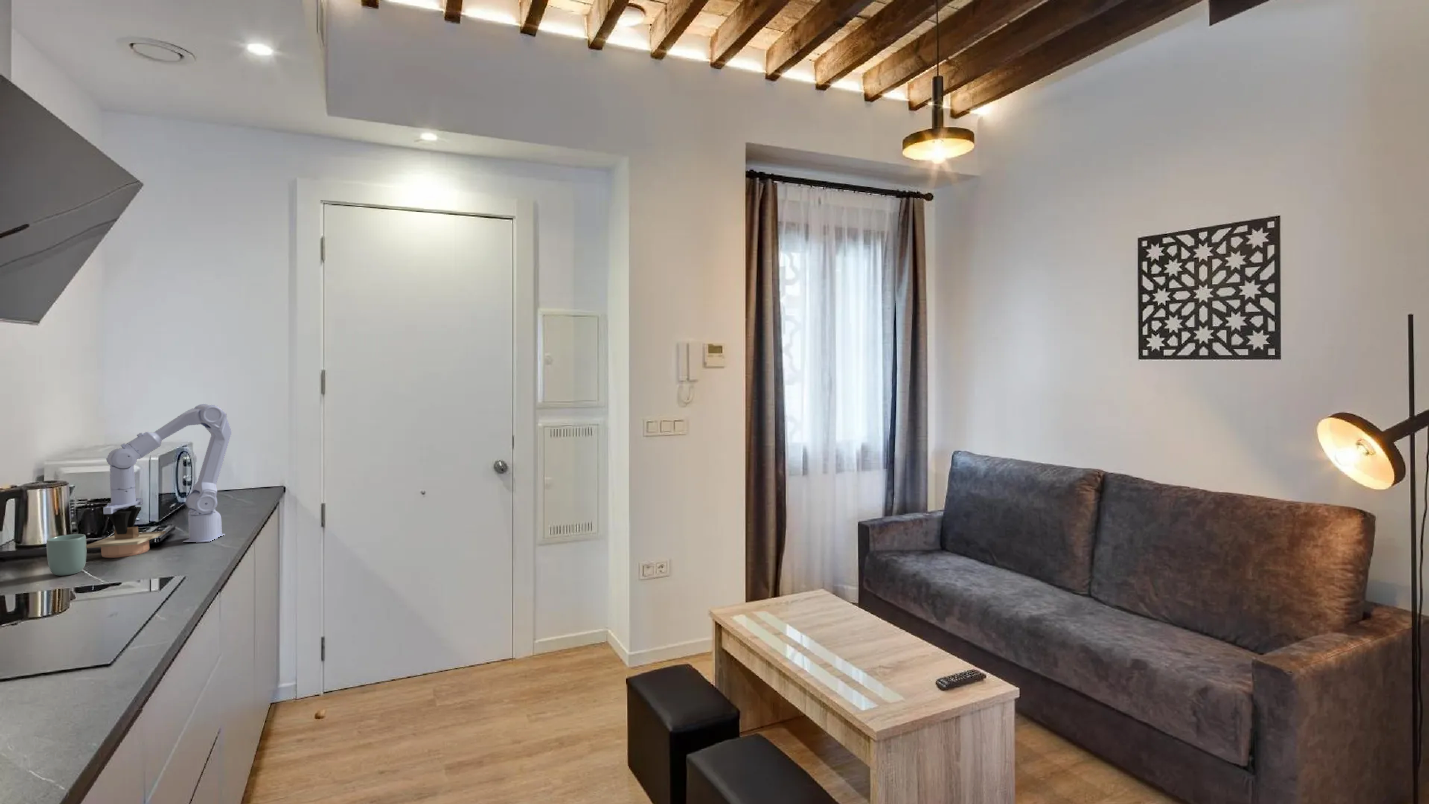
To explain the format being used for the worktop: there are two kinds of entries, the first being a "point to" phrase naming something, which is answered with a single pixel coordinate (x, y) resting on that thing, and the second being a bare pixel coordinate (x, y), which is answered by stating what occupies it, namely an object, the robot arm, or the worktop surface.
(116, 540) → the lid
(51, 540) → the cup
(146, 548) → the dish
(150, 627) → the worktop surface
